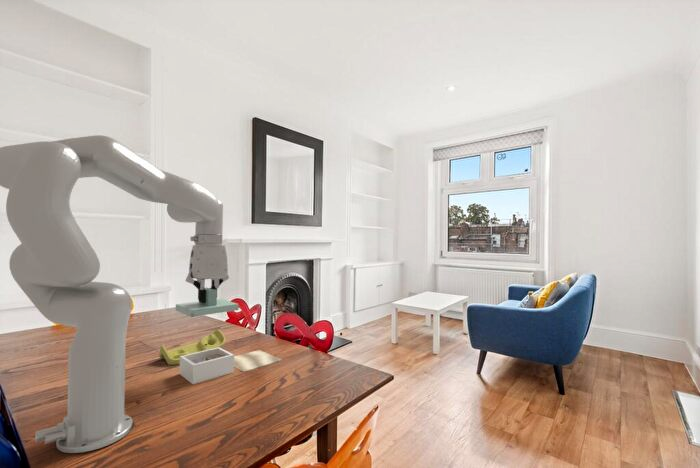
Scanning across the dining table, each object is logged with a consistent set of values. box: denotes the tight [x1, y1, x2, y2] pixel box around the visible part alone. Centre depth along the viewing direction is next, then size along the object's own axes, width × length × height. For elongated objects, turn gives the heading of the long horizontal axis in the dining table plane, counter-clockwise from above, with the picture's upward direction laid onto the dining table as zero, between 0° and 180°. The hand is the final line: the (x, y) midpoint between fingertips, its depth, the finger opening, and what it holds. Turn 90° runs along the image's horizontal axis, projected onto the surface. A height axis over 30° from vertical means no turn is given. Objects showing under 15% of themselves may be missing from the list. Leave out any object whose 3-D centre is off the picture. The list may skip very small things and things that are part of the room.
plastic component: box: [158, 329, 227, 366], centre depth 117 cm, size 20×7×10 cm
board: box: [234, 349, 283, 373], centre depth 112 cm, size 14×14×1 cm
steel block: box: [192, 358, 206, 364], centre depth 99 cm, size 4×4×4 cm
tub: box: [179, 347, 235, 385], centre depth 101 cm, size 12×10×6 cm
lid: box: [175, 287, 240, 318], centre depth 101 cm, size 14×12×6 cm
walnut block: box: [206, 354, 223, 361], centre depth 103 cm, size 4×4×4 cm
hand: (207, 301), depth 101 cm, fingers closed on lid
